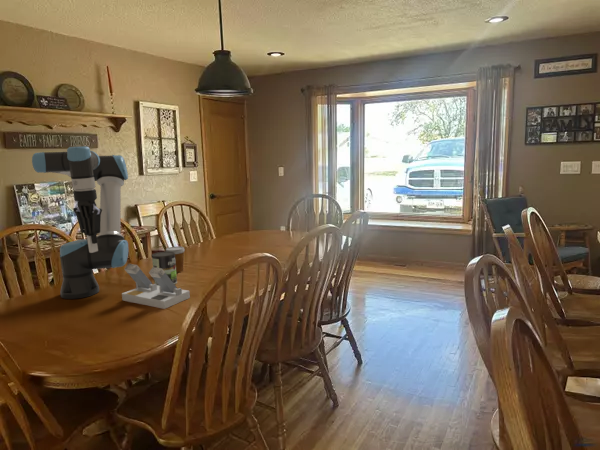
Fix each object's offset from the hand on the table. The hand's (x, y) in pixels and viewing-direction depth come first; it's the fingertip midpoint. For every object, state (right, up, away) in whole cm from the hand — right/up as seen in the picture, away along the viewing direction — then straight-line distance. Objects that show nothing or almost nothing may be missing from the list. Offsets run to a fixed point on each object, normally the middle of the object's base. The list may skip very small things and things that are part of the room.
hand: (93, 251), depth 163 cm
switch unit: (+18, -21, +16) cm, 32 cm away
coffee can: (+16, -17, +38) cm, 44 cm away
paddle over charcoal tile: (+25, -16, +13) cm, 33 cm away
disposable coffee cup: (+15, -14, +58) cm, 61 cm away
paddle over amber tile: (+13, -16, +20) cm, 28 cm away
